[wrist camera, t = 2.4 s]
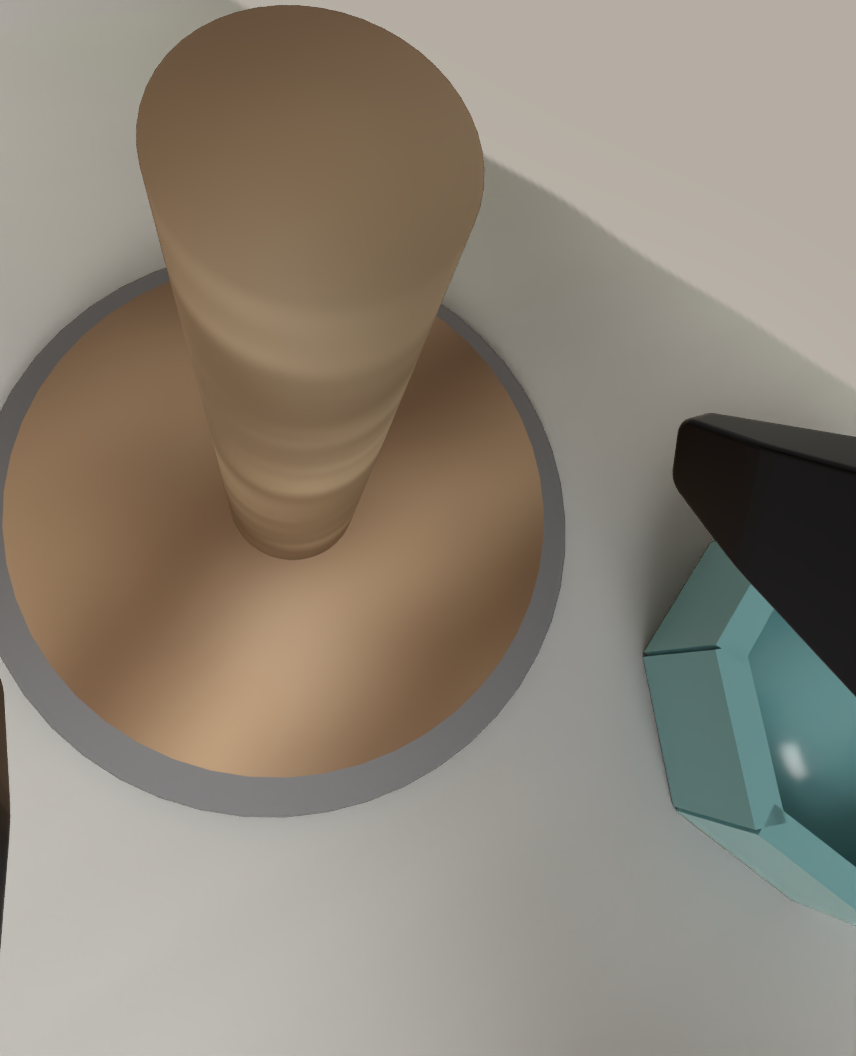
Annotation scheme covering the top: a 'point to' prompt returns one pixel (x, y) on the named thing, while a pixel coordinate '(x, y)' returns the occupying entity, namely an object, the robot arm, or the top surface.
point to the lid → (282, 421)
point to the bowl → (757, 737)
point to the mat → (271, 796)
